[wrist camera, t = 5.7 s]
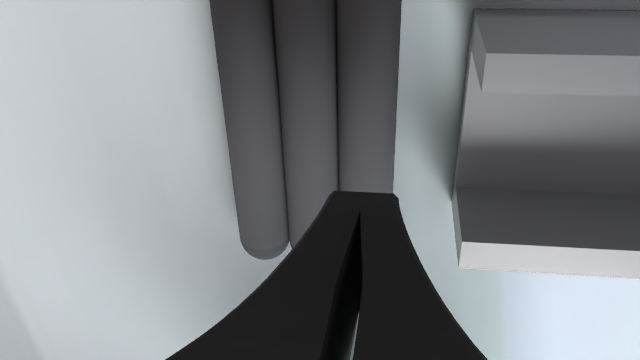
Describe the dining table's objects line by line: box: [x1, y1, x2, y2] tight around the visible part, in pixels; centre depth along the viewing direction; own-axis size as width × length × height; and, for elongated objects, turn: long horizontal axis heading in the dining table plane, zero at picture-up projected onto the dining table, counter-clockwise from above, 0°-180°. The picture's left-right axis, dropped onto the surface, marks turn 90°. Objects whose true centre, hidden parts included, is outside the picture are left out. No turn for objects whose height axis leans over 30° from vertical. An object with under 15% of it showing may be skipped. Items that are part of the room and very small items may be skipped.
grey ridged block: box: [210, 0, 402, 259], centre depth 17 cm, size 5×10×2 cm, turn 2°
